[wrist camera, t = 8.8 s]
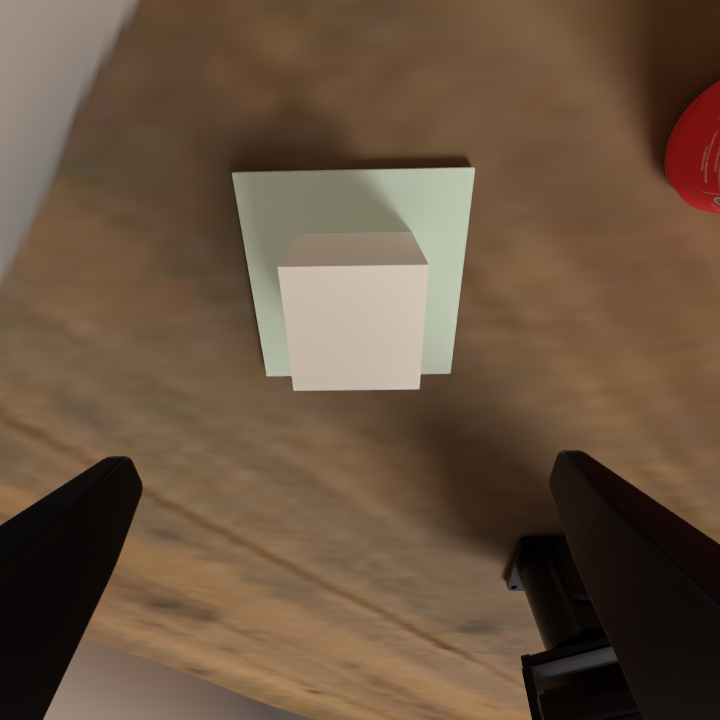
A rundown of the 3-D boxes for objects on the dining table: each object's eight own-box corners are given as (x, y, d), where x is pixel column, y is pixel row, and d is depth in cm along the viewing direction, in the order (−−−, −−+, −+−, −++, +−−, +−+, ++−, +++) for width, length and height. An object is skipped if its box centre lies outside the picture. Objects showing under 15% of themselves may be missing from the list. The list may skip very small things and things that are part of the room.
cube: (406, 332, 19) (419, 389, 15) (308, 334, 19) (293, 390, 15) (411, 231, 17) (428, 264, 12) (299, 233, 17) (277, 267, 13)
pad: (448, 368, 21) (450, 373, 21) (268, 371, 21) (266, 376, 21) (472, 166, 16) (475, 167, 16) (235, 172, 16) (231, 172, 16)
